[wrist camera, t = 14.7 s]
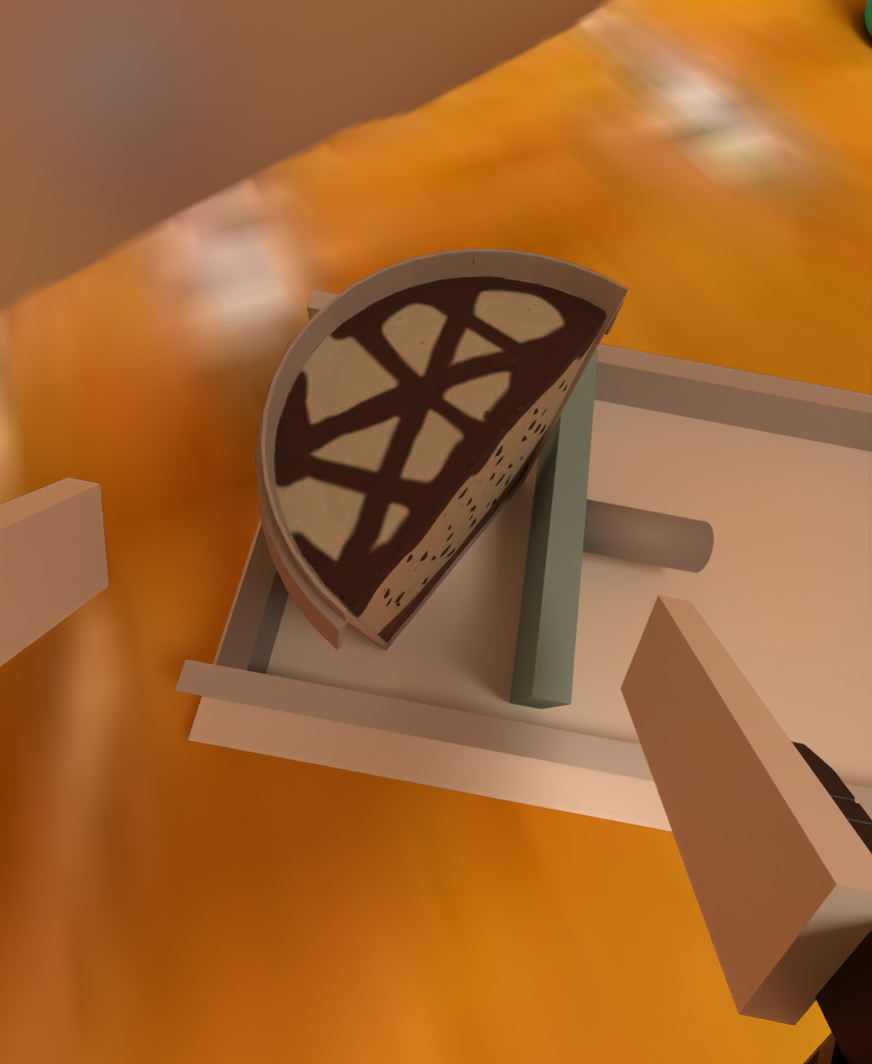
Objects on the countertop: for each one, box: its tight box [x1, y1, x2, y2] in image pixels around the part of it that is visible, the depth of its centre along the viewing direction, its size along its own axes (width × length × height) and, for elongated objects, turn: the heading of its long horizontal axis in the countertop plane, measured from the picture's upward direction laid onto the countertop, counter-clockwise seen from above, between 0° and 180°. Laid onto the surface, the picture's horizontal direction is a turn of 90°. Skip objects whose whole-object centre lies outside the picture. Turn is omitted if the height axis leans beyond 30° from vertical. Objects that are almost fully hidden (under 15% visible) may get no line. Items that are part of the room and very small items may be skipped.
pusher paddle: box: [510, 350, 714, 709], centre depth 20 cm, size 6×14×4 cm, turn 170°
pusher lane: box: [175, 290, 872, 831], centre depth 20 cm, size 30×20×6 cm, turn 80°
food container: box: [255, 248, 629, 651], centre depth 17 cm, size 12×6×10 cm, turn 142°
